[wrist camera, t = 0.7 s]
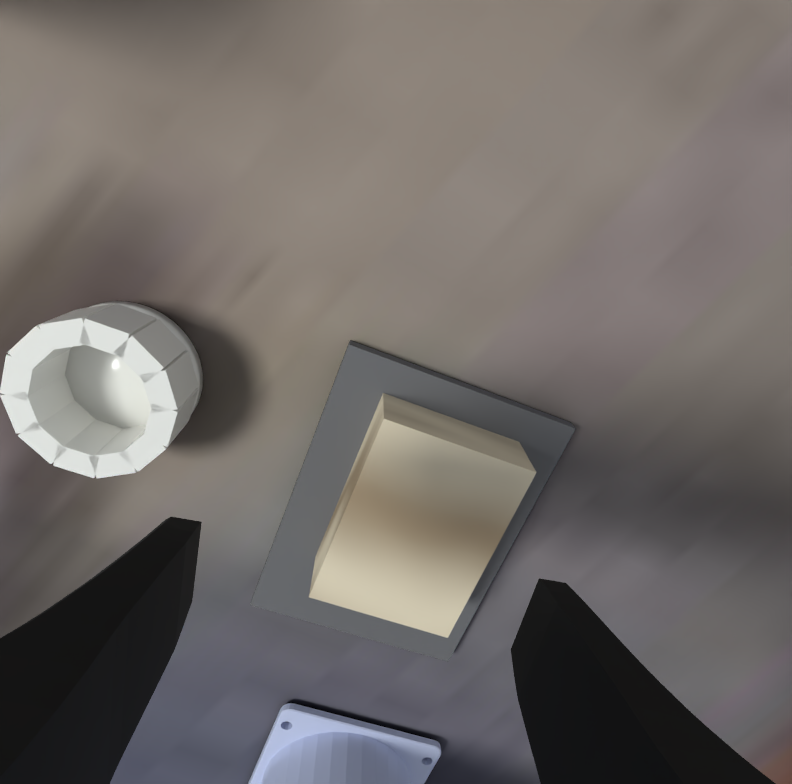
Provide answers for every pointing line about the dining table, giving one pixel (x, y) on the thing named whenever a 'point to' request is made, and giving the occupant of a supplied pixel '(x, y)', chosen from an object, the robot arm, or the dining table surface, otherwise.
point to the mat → (332, 464)
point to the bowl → (102, 387)
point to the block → (419, 517)
